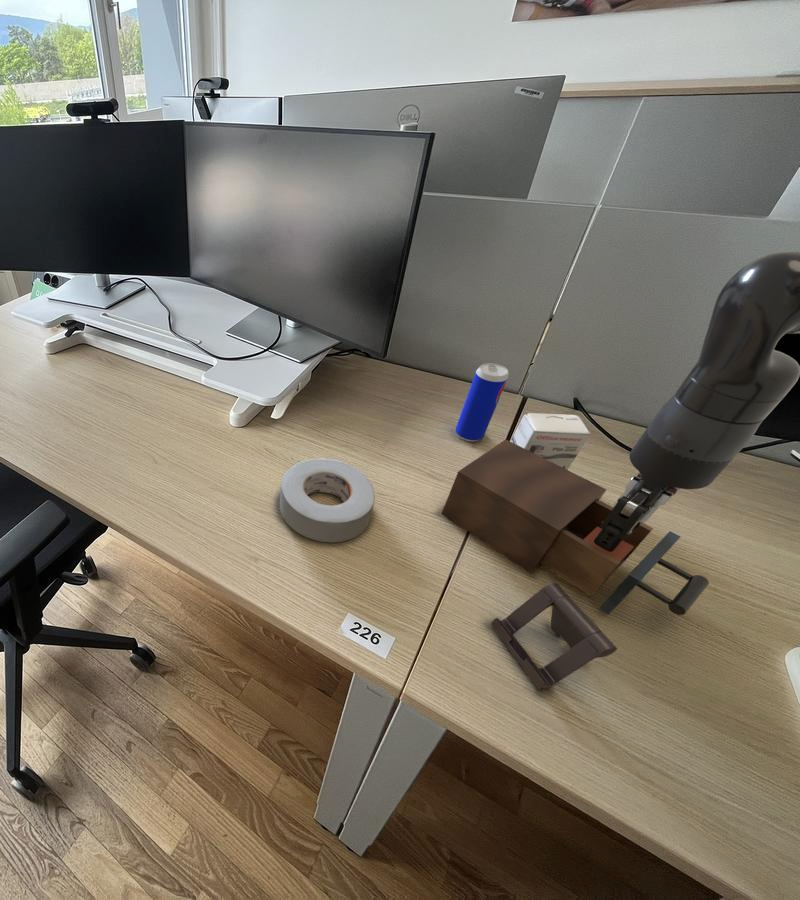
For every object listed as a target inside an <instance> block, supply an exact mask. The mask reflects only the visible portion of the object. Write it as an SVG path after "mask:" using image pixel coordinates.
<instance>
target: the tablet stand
mask: <svg viewBox="0 0 800 900" xmlns="http://www.w3.org/2000/svg"><path fill="white" fill-rule="evenodd" d="M550 607H552V608H551V616H550V629H551V630H552V632H553V633H554V634H555V635H556V637H558V638H560V637H561V638H562V639H563V641H564V642H565V643H566V644H567V645H568V647H569V649H568V650H566V651H565V652H563V653H562V654H561V655H559V656H558V657H556V658H555V659H553V660H551V661H550V662H549V663H547V664H546V665H544V666H542V667H540V668H539V667H538V666H537V665H536V663H535V662H534V660H533V659H532V658H531V657H530V655H529V654H528V652H527V651H526V650H525V648H523V646H522V645H521V643H520V642H519V641H518V640H517V638H516V637H515V636H514V634H515V633H517V632H518V631H520V630H521V629H522V628H523V627H524V626H526V625H527V624H528V623H530V622H531V621H532V620H534V619H535V618H536V617H538V616H539V615H540V614H541V613H543V612H544V611H545V610H546V609H548V608H550ZM490 626H491V627H492V629H493V630H494V631H495V632H496V634H497V635H498V636H499V638H500V639H501V640H502V642H503V643H504V645H505V646H506V648H507V649H508V651H509V652H510V653H511V655H513V657H514V658H515V660H516V661H517V662H518V664H519V665H520V667H521V668H522V670H524V672H525V673H526V675H527V676H528V677H529V679H530V680H531V681H532V683H533V684H534V685H535V687H536V688H537V689H538V690H539V691H544V690H547V689H550V688H551V687H553V686H554V685H556V684H558V683H559V682H561V681H562V680H563V679H565V678H567V677H568V676H571V674H573V673H575V672H576V671H578V670H579V669H580V668H582V667H584V666H585V665H587V664H588V663H590V662H591V661H593V660H595V659H600V658H604V657H605V658H606V657H607V656H610V655H612V654H614V653H615V652H617V650H618V647H617V646H616V645H615V644H614V642H612V641H611V639H610V638H608V636H607V635H606V634H605V633H604V632H603V631H602V629H600V627H598V625H597V624H596V623H595V622H594V621H593V620H592V619H591V618H590V617H589V616H588V615H587V613H586V612H585V611H584V610H583V609H582V608H581V607H580V606H579V605H578V604H577V602H575V601H574V599H572V598H571V597H570V595H569V594H568V593H567V592H566V591H565V590H564V589H563V587H562V586H560V585H559V584H558V582H555V581H554V582H550V583H547V584H546V585H544V586H543V587H542V588H541V589H539V590H538V591H537V592H535V593H534V594H533V595H532V596H530V598H528V599H527V600H526V601H524V602H523V603H522V604H521V605H520V606H518V607H517V608H516V609H515V610H514V611H512V612H511V613H510V614H508V615H507V617H505V618H503V619H502V620H500V619H499V618H498V617H497V618H494V619H493V620H492V621H491V622H490Z"/></svg>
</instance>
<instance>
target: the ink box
mask: <svg viewBox="0 0 800 900" xmlns="http://www.w3.org/2000/svg"><path fill="white" fill-rule="evenodd" d="M591 435H592V432H591V429H590V428H589V426H588V424H587V423H586V422H585V421H584V420H583V418H582V417H581V416H579V415H577V414H565V413H564V414H563V413H562V414H561V413H542V412H528V413H527V414H523V416H522V418H521V420H520V421H519V424H518V426H517V428H516V430H515V431H514V433H513V435H512V438H511V439H510V442H512V443H514V444H516V445H518V446H520V447H522V448H524V449H526V450H528V451H530V452H532V453H534V454H536V455H538V456H540V457H542V458H544V459H546V460H548V461H550V462H552V463H554V464H556V465H558V466H560V467H562V468H564V469H566V470H568V471H569V468H570V467H571V465H572V464H573V463H574V461H575V460H576V457H578V454H579V453H580V451H581V450H582V449H583V447H584V445H585V444H586V442H587V441H588V439H589V438H590V436H591Z"/></svg>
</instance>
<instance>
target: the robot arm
mask: <svg viewBox="0 0 800 900" xmlns="http://www.w3.org/2000/svg"><path fill="white" fill-rule="evenodd" d="M785 335H800V250H789V251H779V252H772V253H769V254H765V255H763V256H760V257H759V258H756V259H754V260H752V261H750V262H749V263H747V264H746V265H744V266H743V267H742V268H740V269H739V270H738V271H737V272H736V273H734V275H733V276H731V277H730V279H729V280H727V282H726V283H725V284H724V286H723V287H722V288H721V289H720V292H719V294H718V295H717V298H716V300H715V303H714V306H713V310H712V313H711V316H710V320H709V323H708V327H707V331H706V334H705V336H704V339H703V343H702V347H701V351H700V354H699V358H698V360H697V362H696V363H695V364H694V366H693V367H692V368H691V370H690V372H689V373H688V374H687V376H686V377H685V379H684V380H683V381H682V383H681V384H680V385H679V387H678V389H676V391H675V392H674V393H673V395H672V396H671V397H670V398H669V399H667V401H666V402H665V403H664V404H663V405H662V406H661V407H660V409H659V410H658V411H657V413H656V414H655V416H654V418H653V419H652V421H651V422H649V424H648V426H647V427H646V429H645V430H644V432H643V433H642V435H641V436H640V437H639V439H638V440H637V441H636V443H635V445H634V446H633V447H632V448H631V451H629V461H630V463H631V465H632V467H634V469H636V470H637V471H638V473H637V475H633V476H632V478H631V479H630V480H629V481H628V482H627V484H626V485H625V490H624V491H623V492H622V494H621V495H620V496H619V497H618V499H617V500H616V501H615V502H614V504H613V505H612V507H613V509H612V511H611V512H610V514H609V515H608V516H607V518H606V519H605V521H603V522H602V523H601V526H600V528H602V530H601V532H600V533H599V534H598V536H597V537H596V538H595V540H594V543H595V544H596V545H598V546H600V547H601V548H603V549H605V550H607V551H609V552H612V551H614V550H615V549H616V547H617V546H618V545H619V544H620V542H621V541H622V540H623V539H624V538H626V537H627V536H628V534H631V533H632V529H635V528H637V527H638V526H639V525H640V523H646V522H647V521H648V520H649V519H650V518H651V517H652V515H654V514H655V513H656V511H657V510H658V509H659V508H660V507H661V506H664V505H666V504H667V503H668V502H669V501H670V499H671V498H672V497H673V496H675V495H676V494H677V493H678V492H679V491H680V490H699V489H700V490H701V489H704V488H706V487H708V486H710V485H711V484H712V483H713V482H714V481H715V480H716V479H717V477H718V476H719V475H720V474H721V473H722V472H723V471H724V470H725V469H726V467H728V465H729V464H730V463H731V462H732V461H733V460H734V458H736V456H737V455H738V454H739V453H740V452H741V451H742V450H743V449H744V447H745V446H746V445H747V444H748V443H749V442H750V441H751V440H752V438H753V437H754V435H755V434H756V432H757V430H758V429H759V427H760V426H761V424H762V423H763V422H764V420H765V419H766V418H767V417H768V416H769V415H770V413H772V412H773V410H774V409H775V408H776V407H777V406H778V405H779V403H781V401H783V400H784V398H785V397H786V395H788V393H789V392H790V391H791V389H792V388H793V387H795V385H796V383H797V382H798V380H799V378H800V364H799V363H798V361H797V360H796V359H794V358H793V357H791V356H790V355H788V354H786V353H784V352H782V351H780V350H776V349H775V348H776V346H777V344H778V342H779V341H780V340H781V338H783V336H785Z"/></svg>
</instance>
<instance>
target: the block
mask: <svg viewBox="0 0 800 900" xmlns="http://www.w3.org/2000/svg"><path fill="white" fill-rule="evenodd" d="M601 530H602V529H601V528H599V527H596V528H595V529H594V530H593V531H592V532H591V533H590V534H589V535H588V536H587V537H586V538H584V539H583V540H584V541H586V542H588V543H589V544H591V545H593V546H595V547H596V548H598V549H600V550H602V551H603V552H605V553H607V554H608V555H610V556H612V557H614V558H615V559H617V560H619V561H621V562H622V561H623V559H624V558H625V557H626V556H627V555H628V554H629V552H630V551H631V550H632V549H633V548H634V546H632V545H630V544H629V543H627V542H625V541H623V540H622V541H621V542H620V544H619V545H618V546H617V547H616V549H615V550H614V551H612V552H609V551H607V550H605V549H603V548H601V547H600V546H598V545H596V544H595V543H594V540H595V538H596V537H597V536H598V534H599V533H600V532H601ZM621 562H620V563H621ZM614 570H615V569H614Z"/></svg>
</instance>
